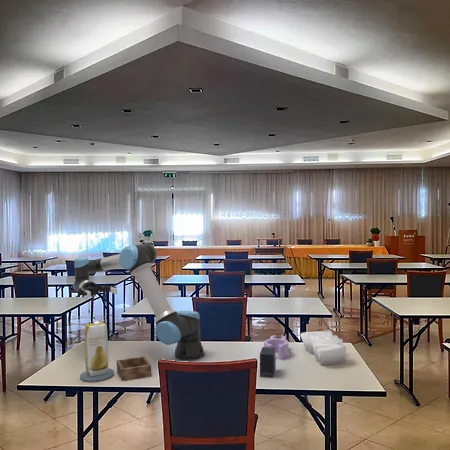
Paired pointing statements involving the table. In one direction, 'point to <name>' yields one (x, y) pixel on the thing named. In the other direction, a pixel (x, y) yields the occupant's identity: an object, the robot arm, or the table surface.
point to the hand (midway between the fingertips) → (103, 293)
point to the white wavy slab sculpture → (324, 347)
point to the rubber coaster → (102, 377)
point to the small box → (267, 362)
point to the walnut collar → (133, 368)
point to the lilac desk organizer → (278, 346)
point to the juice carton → (96, 348)
